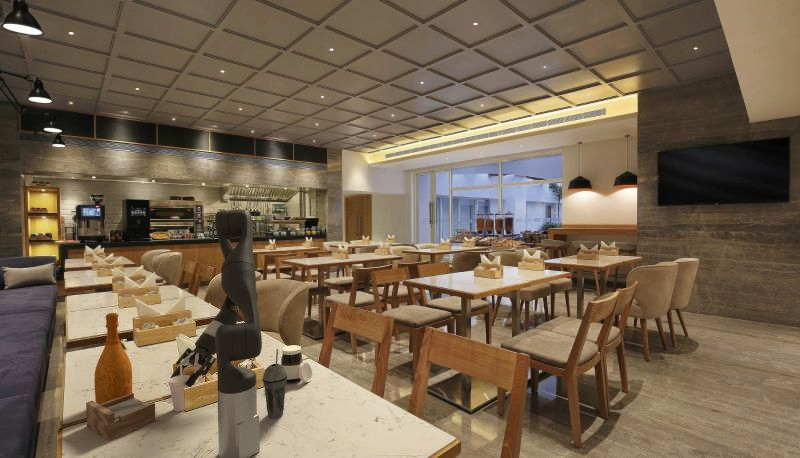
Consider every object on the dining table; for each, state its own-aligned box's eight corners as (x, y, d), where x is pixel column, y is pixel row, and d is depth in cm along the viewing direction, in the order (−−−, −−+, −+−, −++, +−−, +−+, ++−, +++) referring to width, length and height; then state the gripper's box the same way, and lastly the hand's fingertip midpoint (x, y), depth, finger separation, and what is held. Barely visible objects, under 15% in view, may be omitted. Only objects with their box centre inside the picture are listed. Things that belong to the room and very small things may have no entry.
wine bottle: (128, 408, 123) (125, 315, 122) (90, 414, 120) (87, 318, 119) (136, 395, 132) (134, 308, 131) (101, 401, 129) (98, 311, 128)
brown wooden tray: (155, 420, 116) (154, 397, 116) (108, 440, 106) (108, 415, 105) (132, 408, 123) (132, 387, 123) (86, 426, 113) (86, 402, 113)
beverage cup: (257, 417, 117) (256, 351, 117) (275, 406, 124) (274, 344, 123) (275, 423, 114) (274, 355, 114) (293, 412, 121) (292, 348, 120)
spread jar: (283, 374, 150) (282, 344, 150) (313, 372, 152) (312, 342, 152) (279, 387, 138) (278, 355, 138) (311, 385, 140) (311, 353, 140)
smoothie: (181, 414, 119) (180, 369, 119) (163, 412, 121) (162, 368, 120) (196, 404, 126) (195, 362, 125) (179, 403, 127) (178, 360, 127)
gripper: (193, 328, 134) (159, 372, 124) (218, 335, 126) (184, 382, 117) (208, 339, 138) (176, 383, 129) (233, 346, 131) (201, 393, 122)
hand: (180, 382), depth 123 cm, fingers open, 8 cm apart
